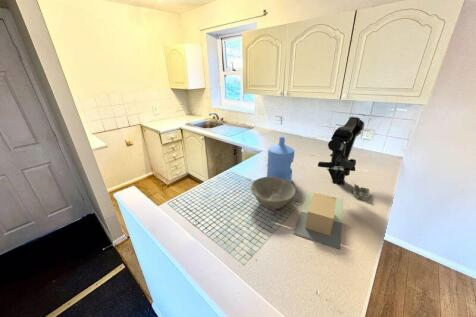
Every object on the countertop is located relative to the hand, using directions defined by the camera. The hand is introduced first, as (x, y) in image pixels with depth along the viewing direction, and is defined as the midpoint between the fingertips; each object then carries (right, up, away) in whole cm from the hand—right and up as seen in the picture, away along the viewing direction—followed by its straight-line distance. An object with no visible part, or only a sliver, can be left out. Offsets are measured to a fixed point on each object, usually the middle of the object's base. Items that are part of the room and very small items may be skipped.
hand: (334, 183), depth 100 cm
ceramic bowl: (-32, -11, +2) cm, 34 cm away
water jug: (-23, -1, +25) cm, 34 cm away
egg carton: (+18, -8, +8) cm, 22 cm away
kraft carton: (-12, -16, -11) cm, 23 cm away
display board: (-10, -15, -7) cm, 19 cm away
